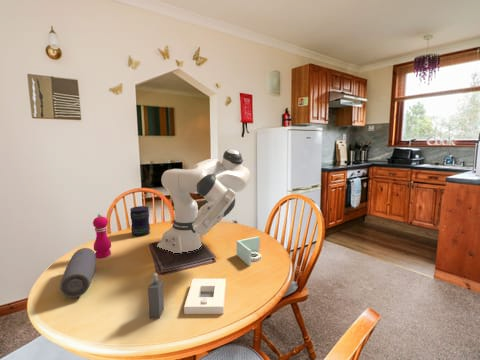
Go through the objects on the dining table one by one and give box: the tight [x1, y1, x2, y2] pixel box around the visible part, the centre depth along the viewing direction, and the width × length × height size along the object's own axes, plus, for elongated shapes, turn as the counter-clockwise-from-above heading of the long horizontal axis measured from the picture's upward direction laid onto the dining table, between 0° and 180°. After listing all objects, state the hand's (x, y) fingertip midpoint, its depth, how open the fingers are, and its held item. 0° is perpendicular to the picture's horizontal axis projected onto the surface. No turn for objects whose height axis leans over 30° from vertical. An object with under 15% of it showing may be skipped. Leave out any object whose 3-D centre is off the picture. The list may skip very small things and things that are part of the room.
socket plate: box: [183, 278, 227, 315], centre depth 86 cm, size 16×12×3 cm
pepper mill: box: [92, 213, 112, 259], centre depth 117 cm, size 7×7×20 cm
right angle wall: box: [236, 235, 262, 267], centre depth 116 cm, size 12×12×8 cm
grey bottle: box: [147, 272, 165, 320], centre depth 78 cm, size 4×3×13 cm, turn 1°
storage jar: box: [129, 205, 151, 238], centre depth 144 cm, size 10×10×15 cm
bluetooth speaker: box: [59, 247, 97, 298], centre depth 94 cm, size 23×9×10 cm, turn 24°
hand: (219, 209), depth 87 cm, fingers open, 8 cm apart
